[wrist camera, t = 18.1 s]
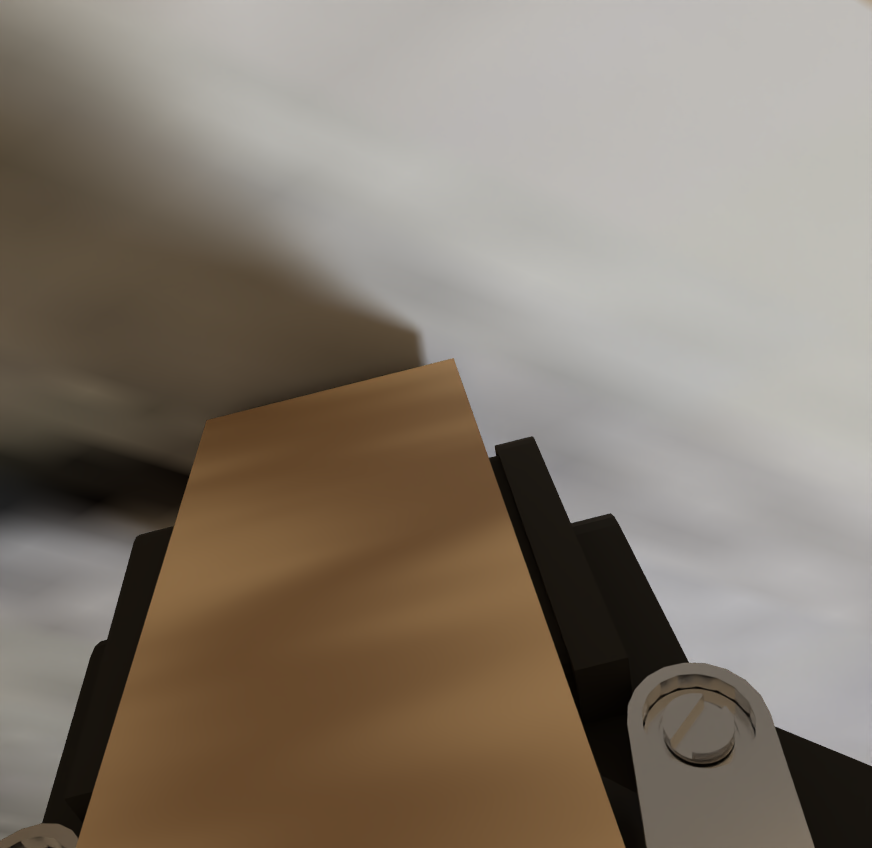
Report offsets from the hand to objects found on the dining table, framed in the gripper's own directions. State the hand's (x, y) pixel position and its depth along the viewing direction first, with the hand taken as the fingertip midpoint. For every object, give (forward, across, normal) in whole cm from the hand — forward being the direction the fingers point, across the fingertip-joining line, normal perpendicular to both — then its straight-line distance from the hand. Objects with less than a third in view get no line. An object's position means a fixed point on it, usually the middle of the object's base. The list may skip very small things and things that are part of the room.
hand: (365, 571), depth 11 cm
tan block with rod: (+2, 0, +7) cm, 7 cm away
